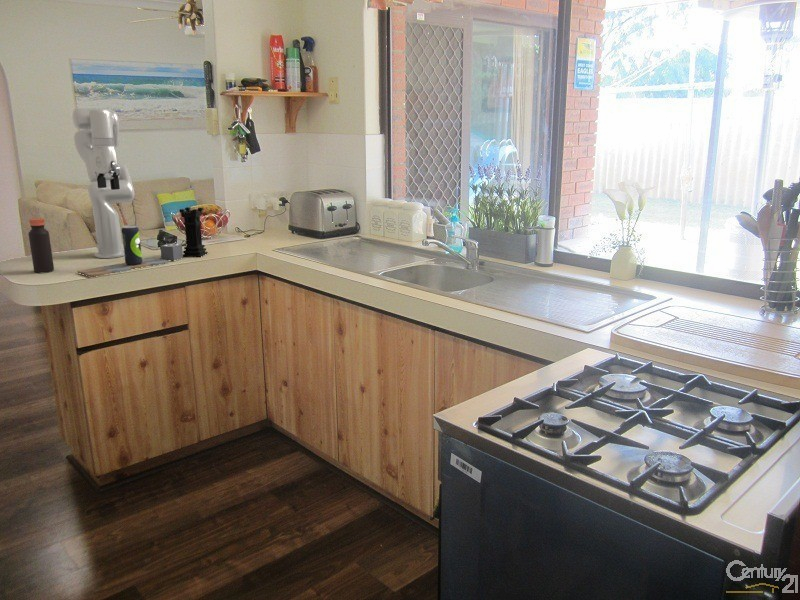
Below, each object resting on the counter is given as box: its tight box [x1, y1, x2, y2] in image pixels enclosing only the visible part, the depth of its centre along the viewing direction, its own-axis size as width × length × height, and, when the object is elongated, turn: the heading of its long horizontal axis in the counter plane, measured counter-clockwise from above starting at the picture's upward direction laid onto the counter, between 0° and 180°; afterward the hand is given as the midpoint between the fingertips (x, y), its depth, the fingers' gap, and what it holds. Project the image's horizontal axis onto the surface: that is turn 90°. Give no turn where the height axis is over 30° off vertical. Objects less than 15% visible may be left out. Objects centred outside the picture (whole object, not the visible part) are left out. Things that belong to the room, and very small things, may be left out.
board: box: [77, 257, 170, 278], centre depth 251 cm, size 10×32×1 cm, turn 142°
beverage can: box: [120, 224, 143, 265], centre depth 252 cm, size 6×6×15 cm
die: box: [160, 243, 184, 262], centre depth 267 cm, size 6×6×6 cm
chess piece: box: [179, 206, 209, 258], centre depth 273 cm, size 8×8×20 cm
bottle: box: [27, 217, 55, 273], centre depth 244 cm, size 7×7×20 cm
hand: (108, 188), depth 248 cm, fingers open, 9 cm apart
